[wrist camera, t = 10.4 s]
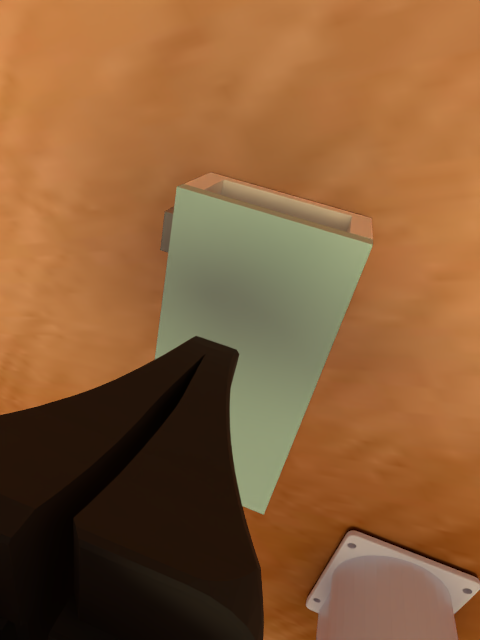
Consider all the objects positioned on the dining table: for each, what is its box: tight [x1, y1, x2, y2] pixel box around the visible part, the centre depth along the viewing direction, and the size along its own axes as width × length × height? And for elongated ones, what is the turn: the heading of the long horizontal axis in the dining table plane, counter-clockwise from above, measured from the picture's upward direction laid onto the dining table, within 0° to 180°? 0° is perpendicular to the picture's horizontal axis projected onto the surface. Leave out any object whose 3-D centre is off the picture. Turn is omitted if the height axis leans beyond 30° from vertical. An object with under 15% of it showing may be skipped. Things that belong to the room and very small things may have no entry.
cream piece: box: [160, 172, 373, 252], centre depth 19 cm, size 15×8×3 cm, turn 167°
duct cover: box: [155, 184, 373, 515], centre depth 18 cm, size 15×7×1 cm, turn 167°
